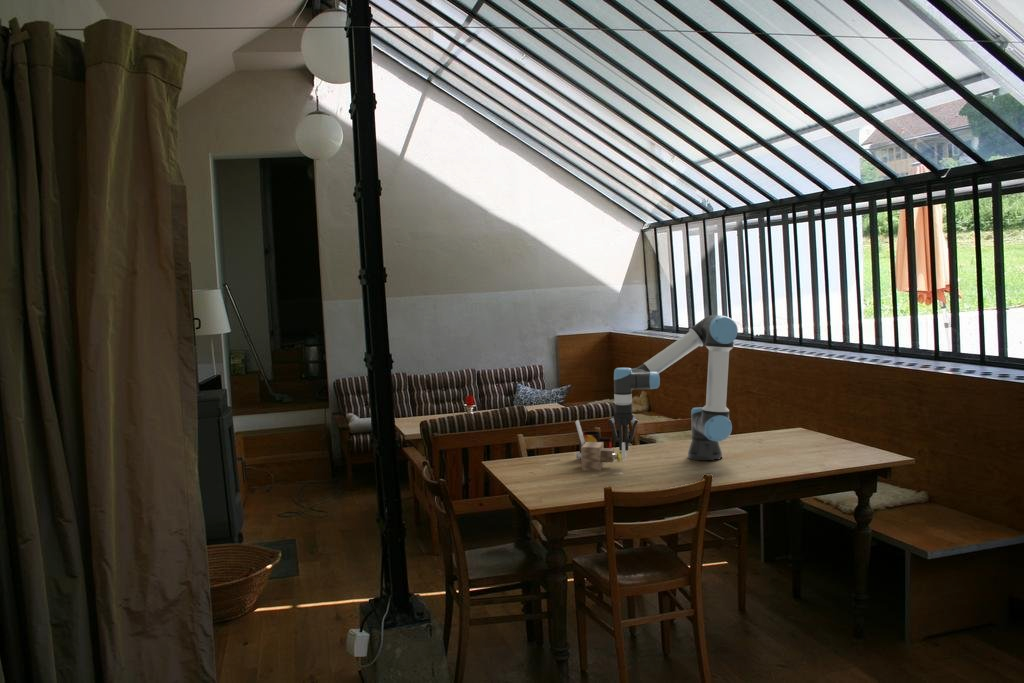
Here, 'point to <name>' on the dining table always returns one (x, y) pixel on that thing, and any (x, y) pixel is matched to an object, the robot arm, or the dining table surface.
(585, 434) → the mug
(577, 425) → the keeper flap
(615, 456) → the pin
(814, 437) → the dining table surface
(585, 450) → the block
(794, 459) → the dining table surface
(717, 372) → the robot arm
